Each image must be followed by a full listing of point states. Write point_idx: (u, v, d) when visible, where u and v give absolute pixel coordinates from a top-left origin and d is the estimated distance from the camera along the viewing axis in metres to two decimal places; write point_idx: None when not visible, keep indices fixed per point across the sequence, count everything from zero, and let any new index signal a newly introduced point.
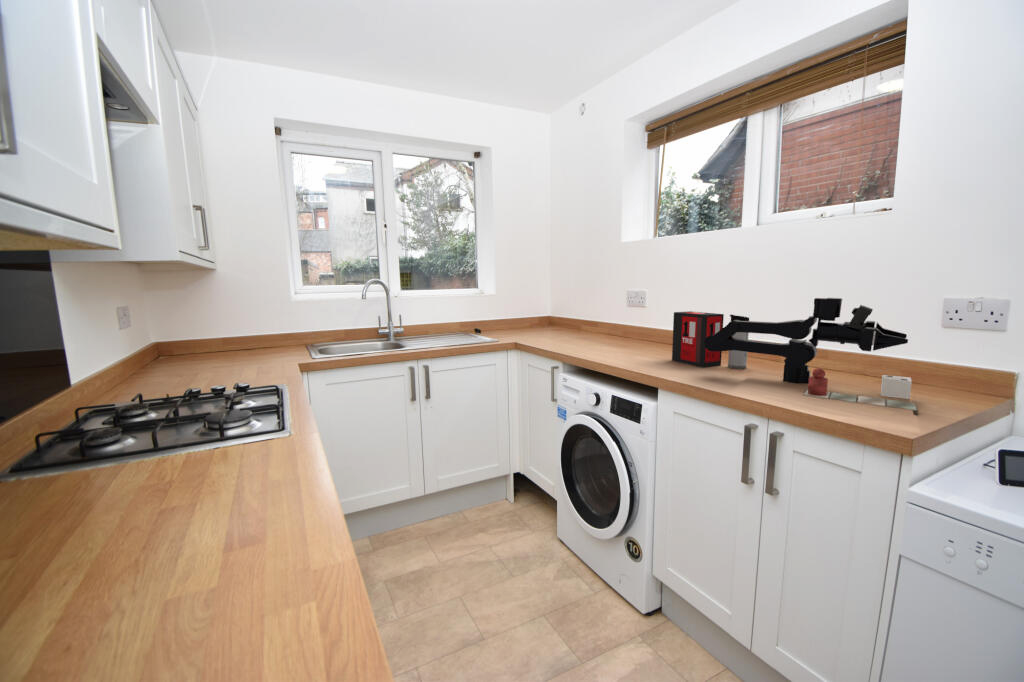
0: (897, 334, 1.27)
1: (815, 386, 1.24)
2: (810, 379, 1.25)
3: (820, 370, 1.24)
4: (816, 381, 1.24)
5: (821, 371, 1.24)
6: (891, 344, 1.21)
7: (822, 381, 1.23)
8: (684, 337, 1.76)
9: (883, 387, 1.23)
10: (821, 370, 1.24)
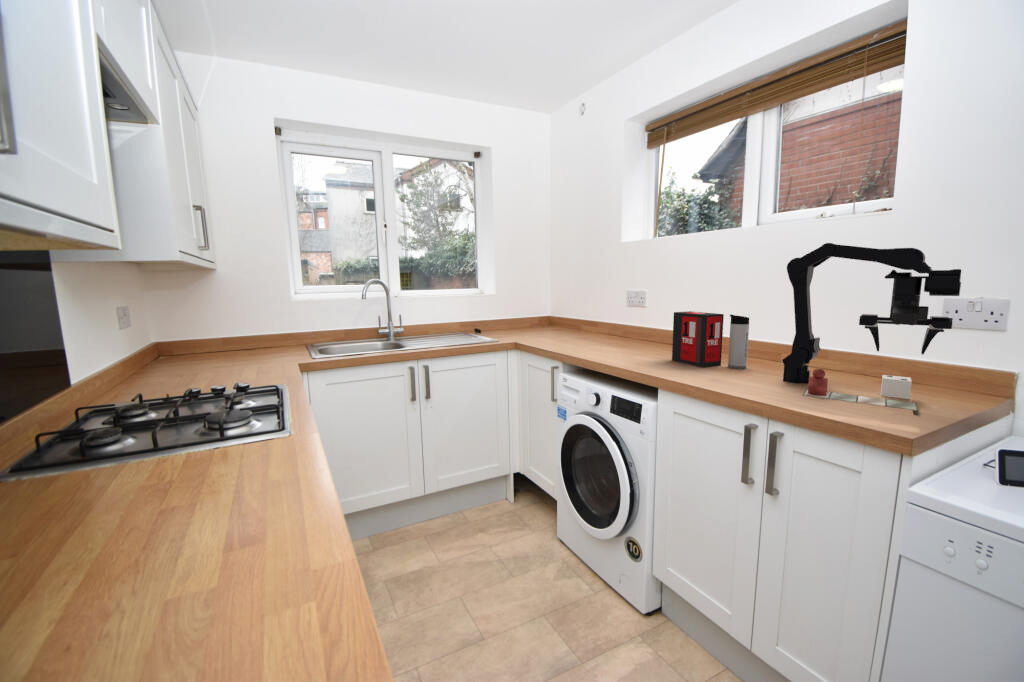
0: (922, 346, 1.19)
1: (815, 386, 1.24)
2: (810, 379, 1.25)
3: (820, 370, 1.24)
4: (816, 381, 1.24)
5: (821, 371, 1.24)
6: None
7: (822, 381, 1.23)
8: (684, 337, 1.76)
9: (883, 387, 1.23)
10: (821, 370, 1.24)
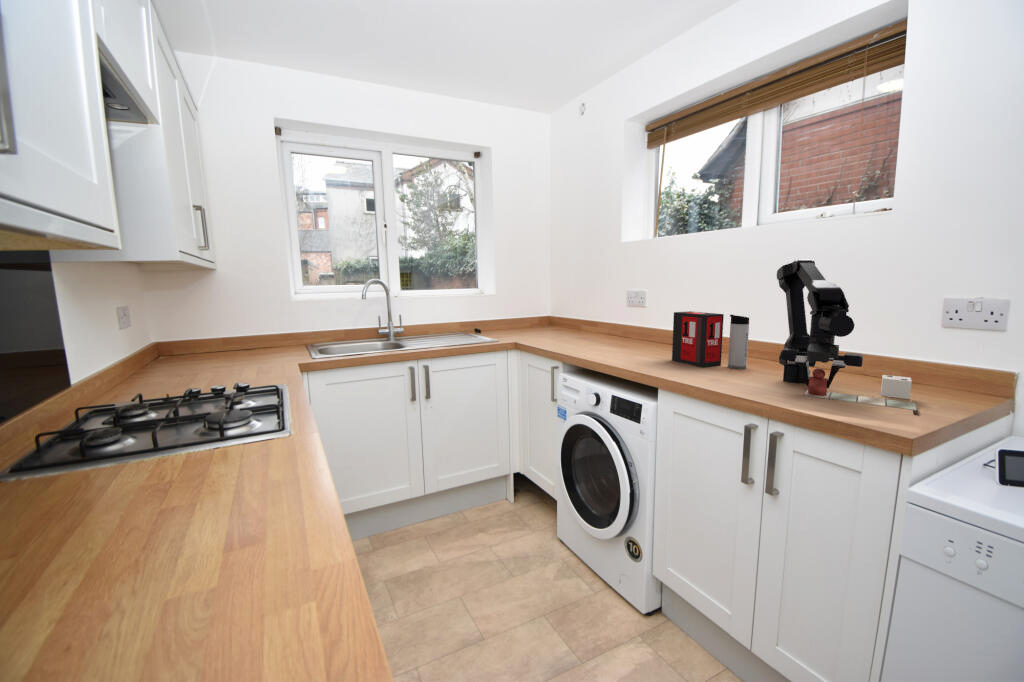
0: None
1: (815, 386, 1.24)
2: (810, 379, 1.25)
3: (820, 370, 1.24)
4: (816, 381, 1.24)
5: (821, 371, 1.24)
6: None
7: (822, 381, 1.23)
8: (684, 337, 1.76)
9: (883, 387, 1.23)
10: (821, 370, 1.24)
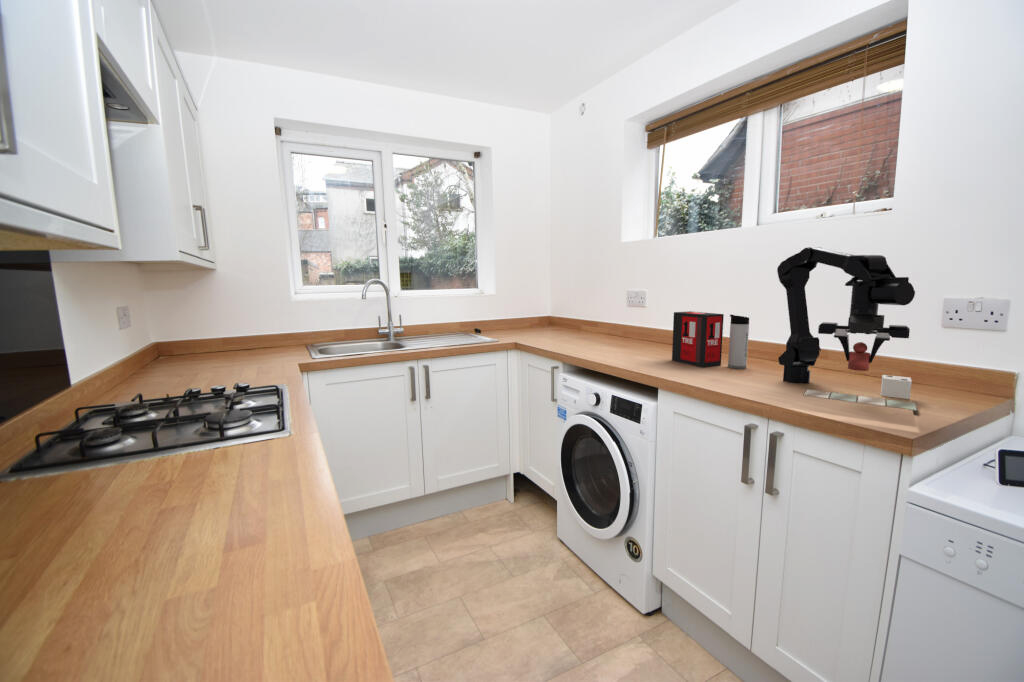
0: (870, 355, 1.17)
1: (856, 361, 1.17)
2: (851, 354, 1.19)
3: (862, 344, 1.17)
4: (858, 356, 1.17)
5: (863, 345, 1.17)
6: None
7: (864, 355, 1.17)
8: (684, 337, 1.76)
9: (883, 387, 1.23)
10: (863, 344, 1.17)
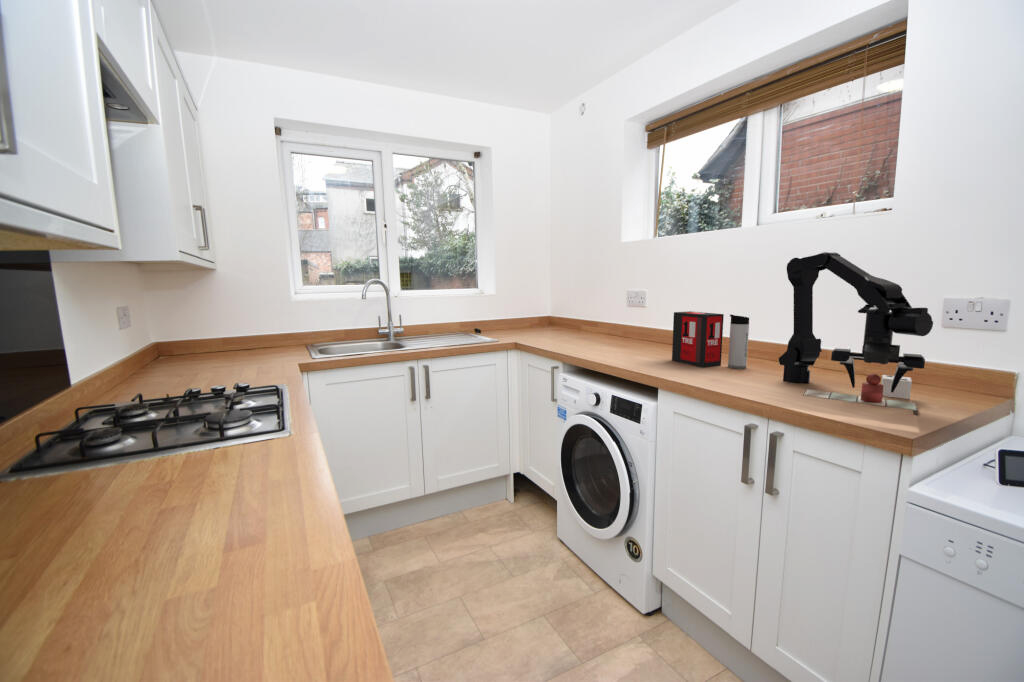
0: (892, 384, 1.15)
1: (870, 393, 1.17)
2: (864, 385, 1.18)
3: (875, 376, 1.17)
4: (871, 388, 1.16)
5: (876, 377, 1.16)
6: None
7: (878, 387, 1.16)
8: (684, 337, 1.76)
9: (883, 387, 1.23)
10: (876, 376, 1.17)
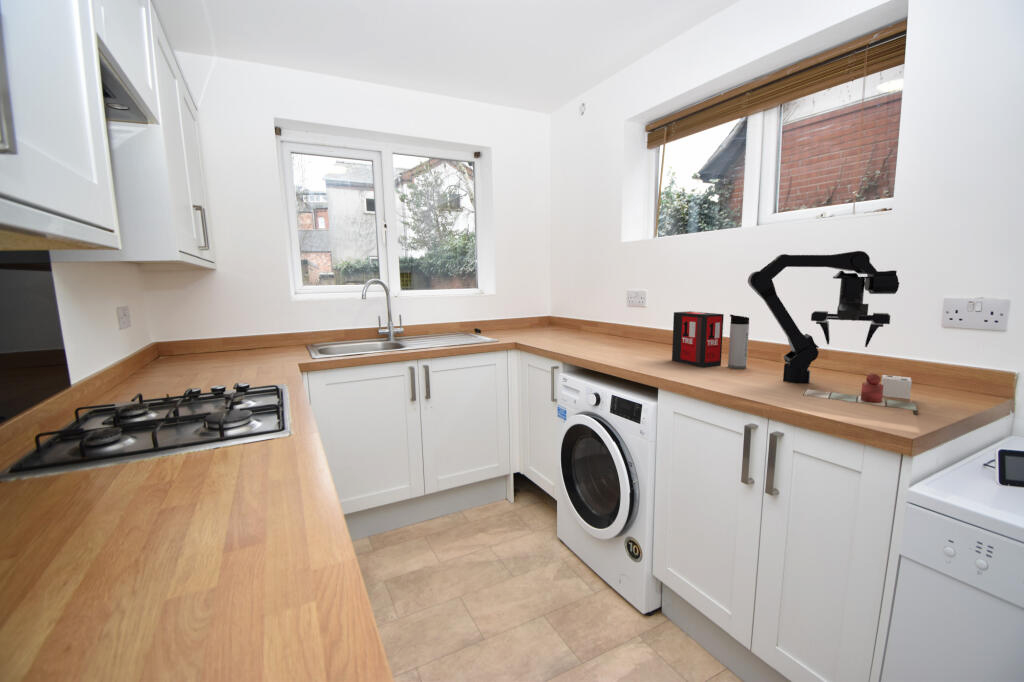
0: (866, 340, 1.32)
1: (870, 393, 1.17)
2: (864, 385, 1.18)
3: (875, 376, 1.17)
4: (871, 388, 1.16)
5: (876, 377, 1.16)
6: None
7: (878, 387, 1.16)
8: (684, 337, 1.76)
9: (883, 387, 1.23)
10: (876, 376, 1.17)
